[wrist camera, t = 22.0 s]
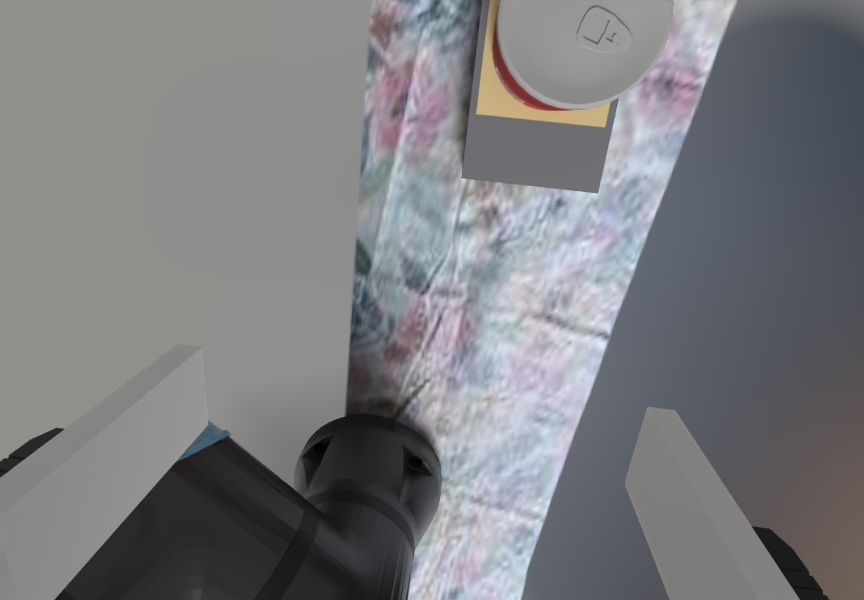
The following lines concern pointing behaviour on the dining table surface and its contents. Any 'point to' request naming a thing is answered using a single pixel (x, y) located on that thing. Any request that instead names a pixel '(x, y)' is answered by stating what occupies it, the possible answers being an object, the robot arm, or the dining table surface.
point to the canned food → (577, 49)
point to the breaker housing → (529, 131)
